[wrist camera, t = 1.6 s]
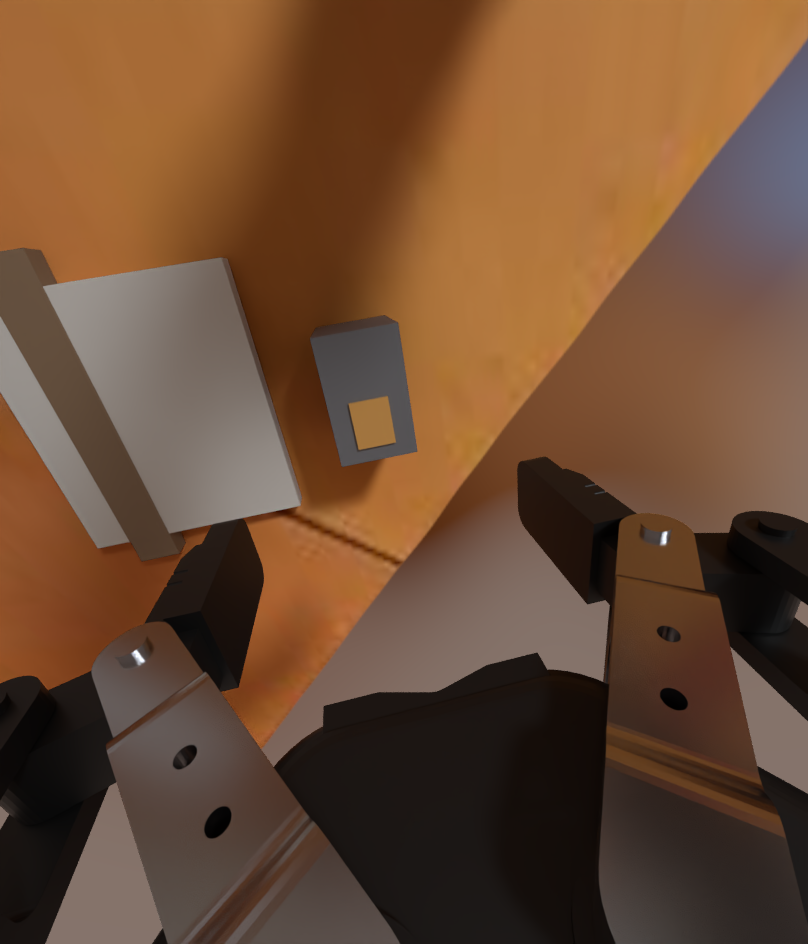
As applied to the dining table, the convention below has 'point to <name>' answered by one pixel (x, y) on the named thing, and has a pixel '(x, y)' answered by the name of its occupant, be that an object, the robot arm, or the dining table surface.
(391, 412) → the block
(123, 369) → the board
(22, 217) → the dining table surface
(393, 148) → the dining table surface
